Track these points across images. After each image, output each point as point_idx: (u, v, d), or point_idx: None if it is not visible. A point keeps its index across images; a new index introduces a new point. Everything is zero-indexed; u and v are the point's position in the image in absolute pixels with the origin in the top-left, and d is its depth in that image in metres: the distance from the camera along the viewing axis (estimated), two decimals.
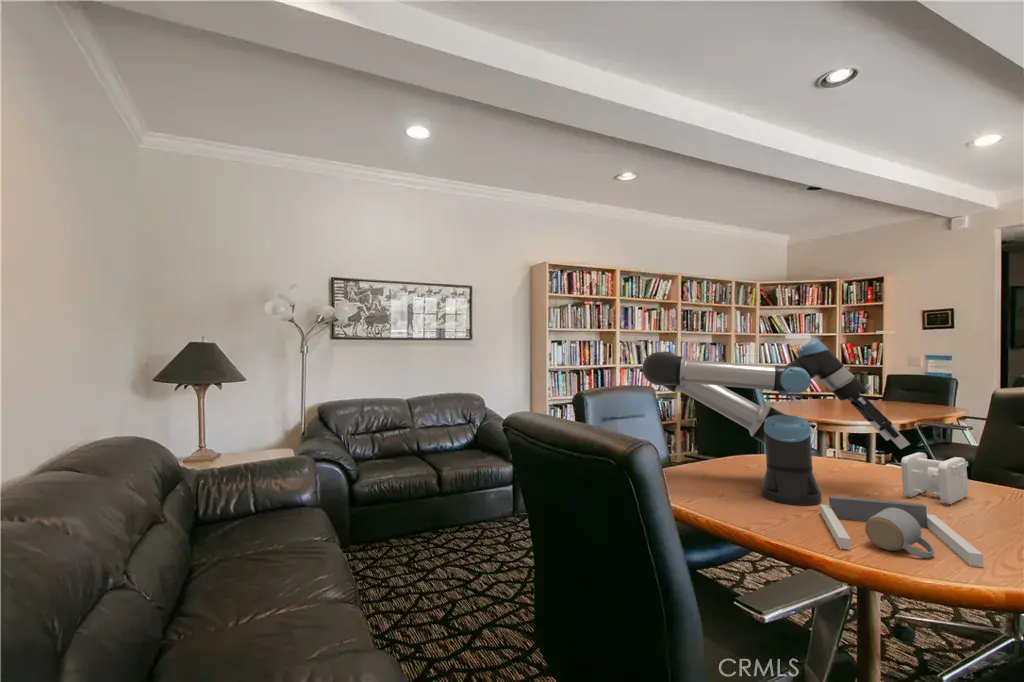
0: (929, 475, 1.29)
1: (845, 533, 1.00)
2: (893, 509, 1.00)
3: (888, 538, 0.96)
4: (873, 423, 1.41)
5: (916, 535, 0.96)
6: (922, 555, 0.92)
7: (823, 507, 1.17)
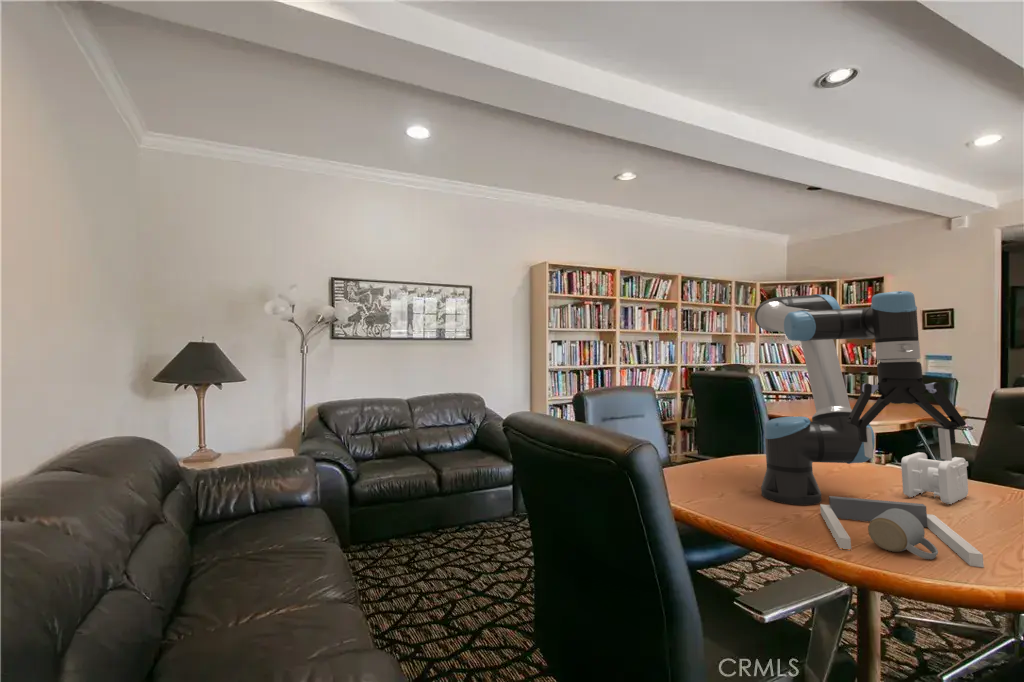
0: (929, 475, 1.29)
1: (845, 533, 1.00)
2: (896, 510, 0.99)
3: (891, 539, 0.95)
4: (939, 430, 0.98)
5: (919, 536, 0.95)
6: (926, 556, 0.92)
7: (823, 507, 1.17)
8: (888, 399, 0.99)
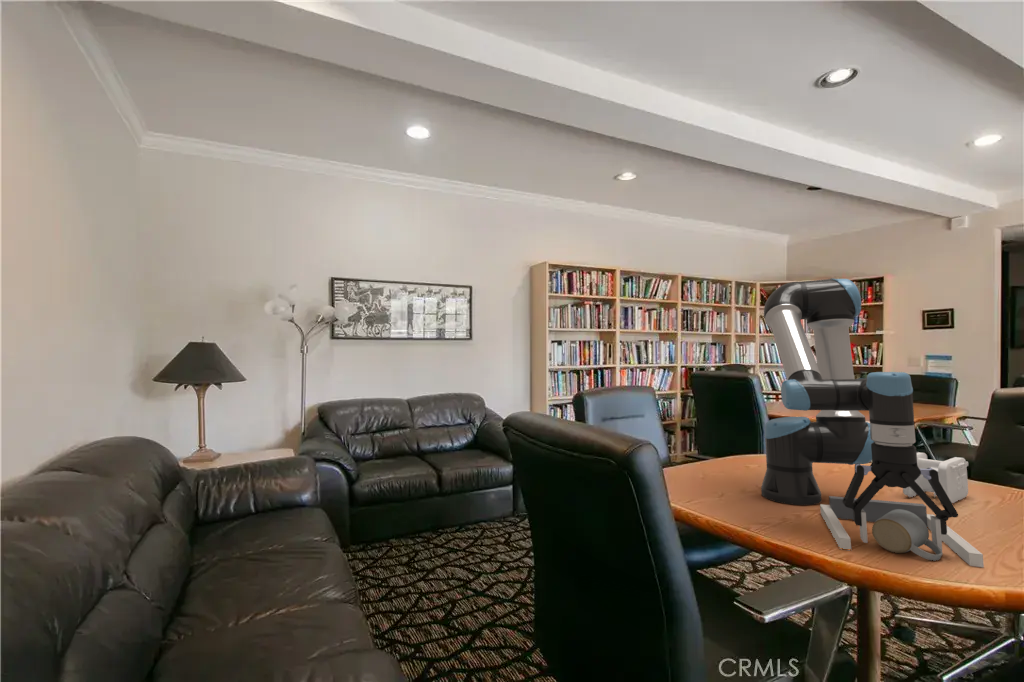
0: None
1: (845, 533, 1.00)
2: (900, 511, 0.99)
3: (895, 541, 0.95)
4: (931, 518, 0.96)
5: (924, 537, 0.95)
6: (930, 557, 0.91)
7: (823, 507, 1.17)
8: (881, 483, 0.98)
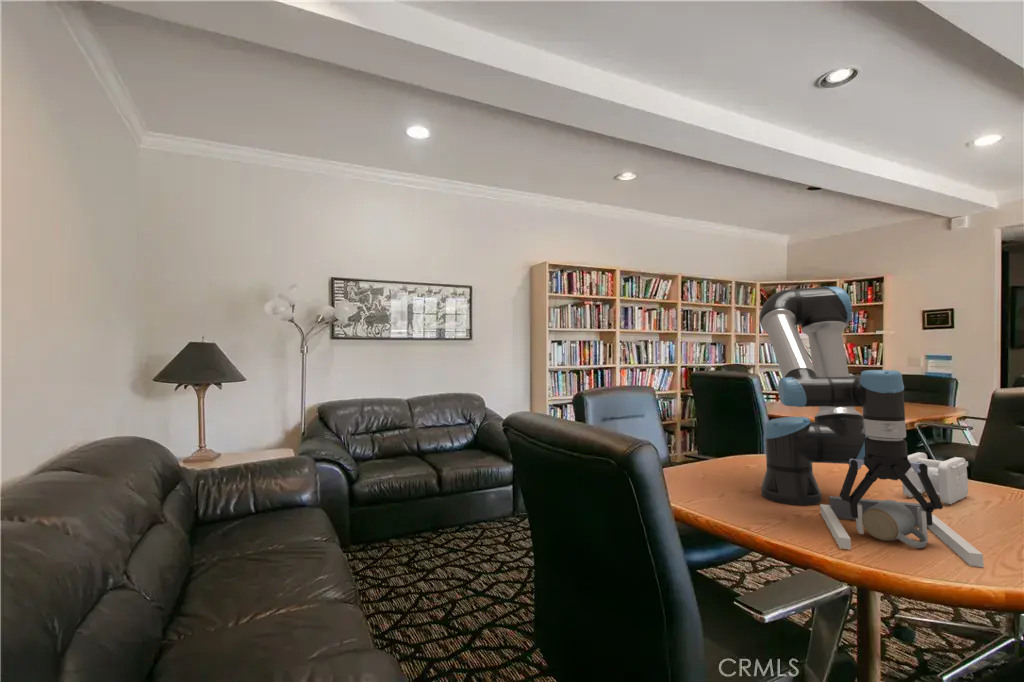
0: (929, 475, 1.29)
1: (845, 533, 1.00)
2: (889, 501, 1.04)
3: (883, 529, 1.00)
4: (918, 510, 1.01)
5: (911, 526, 1.00)
6: (915, 545, 0.97)
7: (823, 507, 1.17)
8: (874, 476, 1.03)
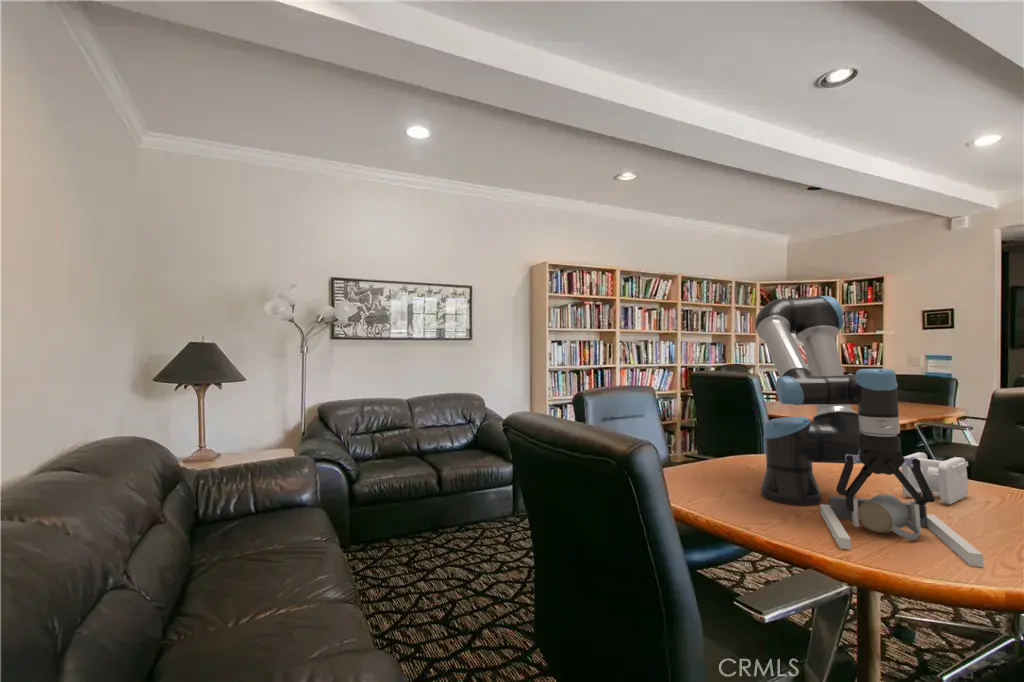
0: (929, 475, 1.29)
1: (845, 533, 1.00)
2: (884, 495, 1.08)
3: (878, 521, 1.04)
4: (911, 503, 1.05)
5: (904, 519, 1.04)
6: (909, 536, 1.00)
7: (823, 507, 1.17)
8: (869, 471, 1.07)
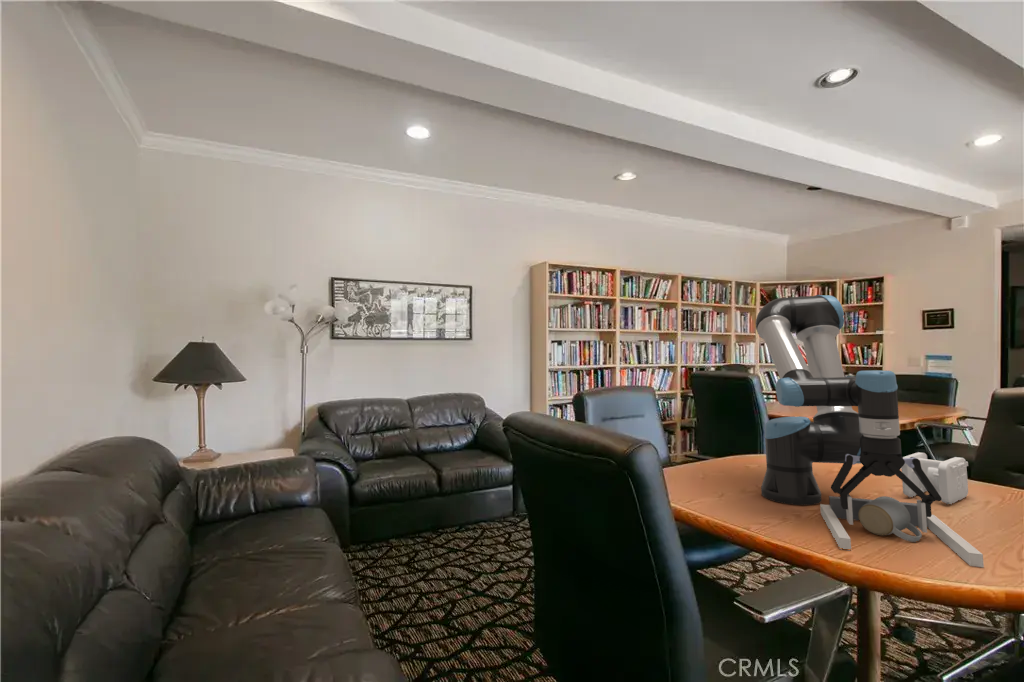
0: (929, 475, 1.29)
1: (845, 533, 1.00)
2: (885, 497, 1.08)
3: (878, 524, 1.04)
4: (917, 502, 1.05)
5: (905, 521, 1.04)
6: (910, 539, 1.00)
7: (823, 507, 1.17)
8: (868, 471, 1.07)
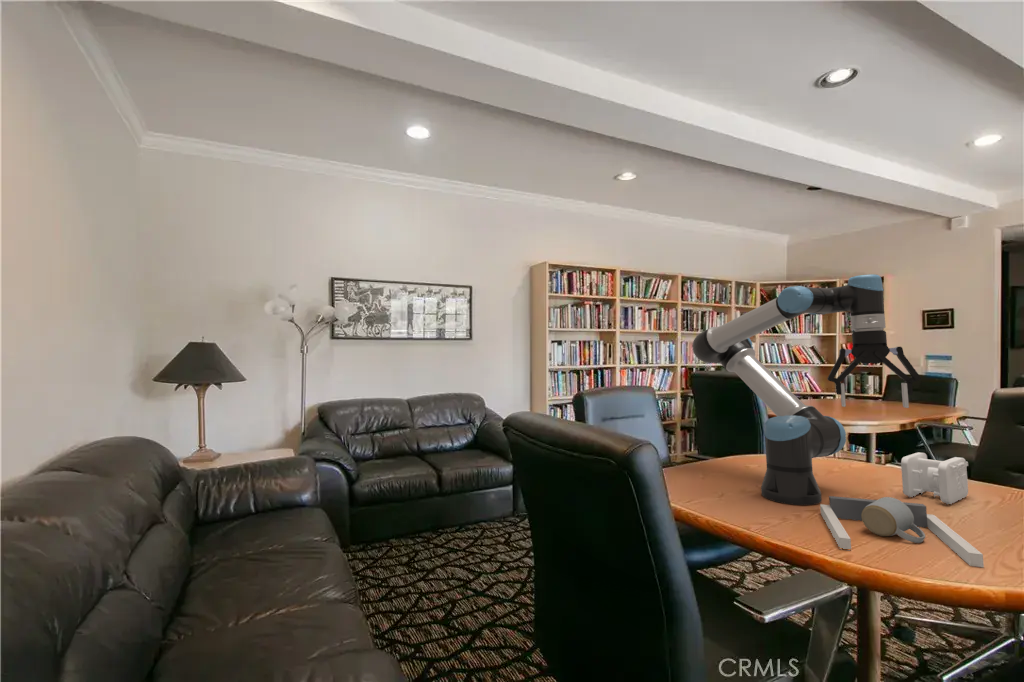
0: (929, 475, 1.29)
1: (845, 533, 1.00)
2: (888, 498, 1.07)
3: (882, 525, 1.03)
4: (901, 384, 1.23)
5: (909, 522, 1.03)
6: (913, 540, 1.00)
7: (823, 507, 1.17)
8: (858, 360, 1.26)
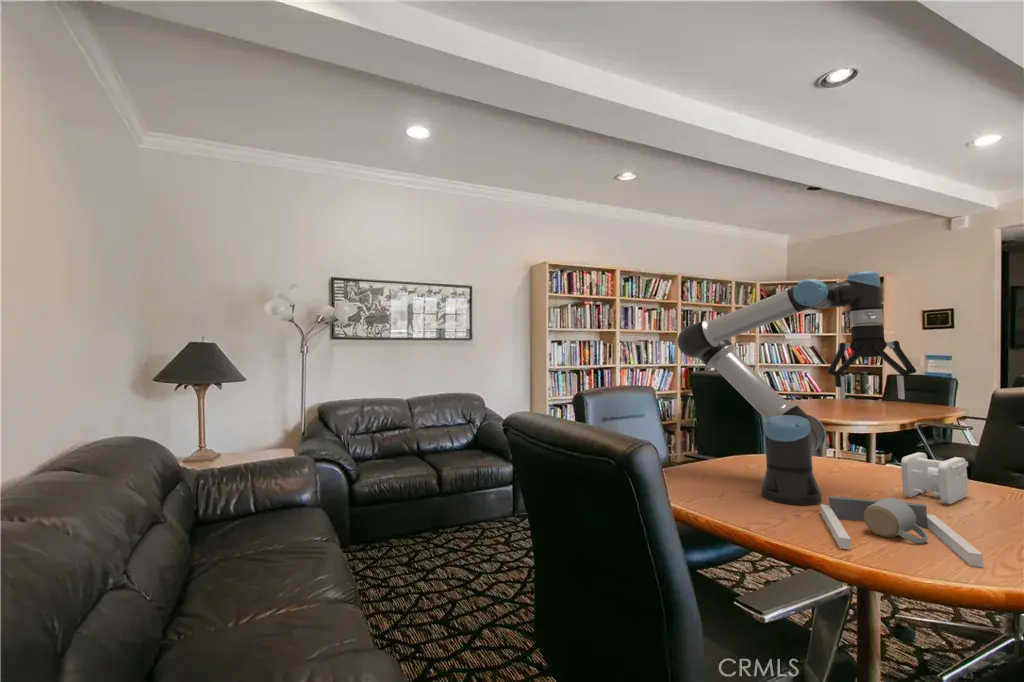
0: (929, 475, 1.29)
1: (845, 533, 1.00)
2: (890, 499, 1.07)
3: (884, 525, 1.03)
4: (897, 377, 1.29)
5: (911, 523, 1.03)
6: (916, 541, 0.99)
7: (823, 507, 1.17)
8: (857, 354, 1.31)
